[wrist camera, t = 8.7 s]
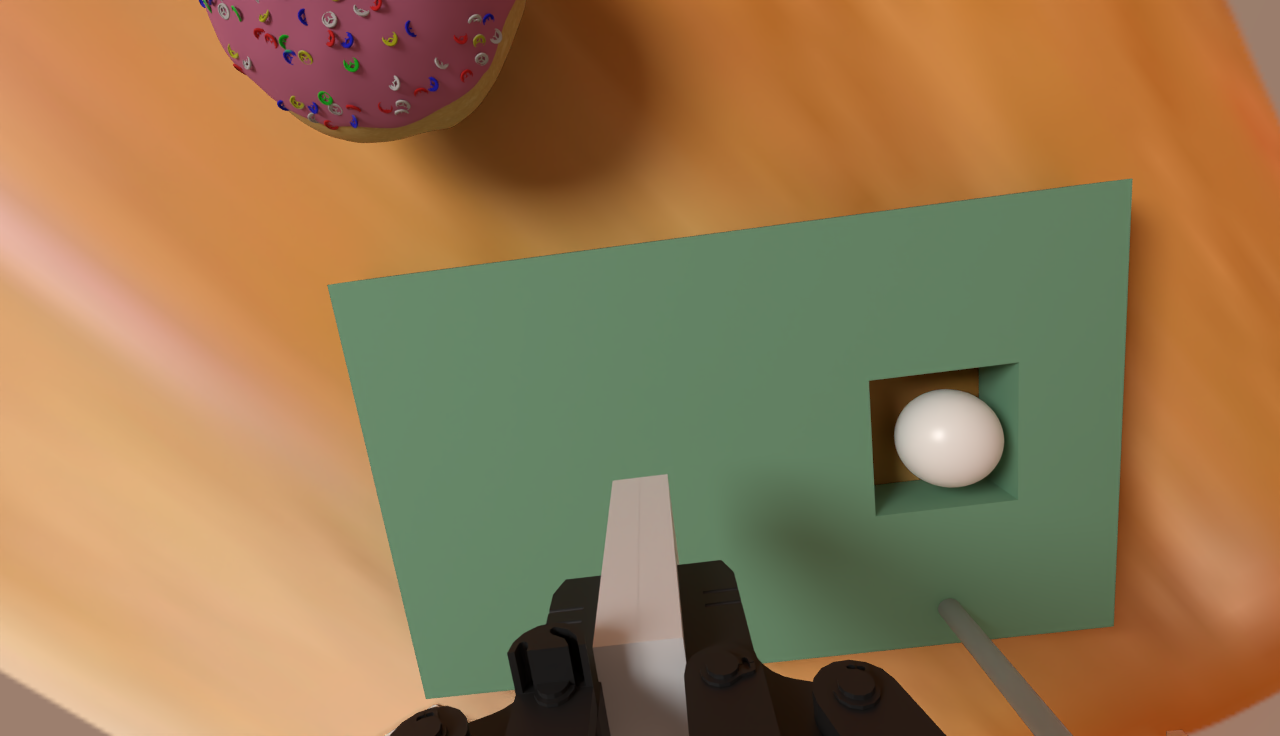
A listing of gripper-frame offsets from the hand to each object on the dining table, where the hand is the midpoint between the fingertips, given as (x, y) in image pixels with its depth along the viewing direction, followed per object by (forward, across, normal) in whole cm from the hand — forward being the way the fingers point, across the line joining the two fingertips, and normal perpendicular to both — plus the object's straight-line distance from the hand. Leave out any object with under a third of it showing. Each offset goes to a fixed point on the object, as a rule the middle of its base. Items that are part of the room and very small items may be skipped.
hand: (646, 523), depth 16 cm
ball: (+6, +11, -1) cm, 12 cm away
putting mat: (+7, +3, -1) cm, 8 cm away
